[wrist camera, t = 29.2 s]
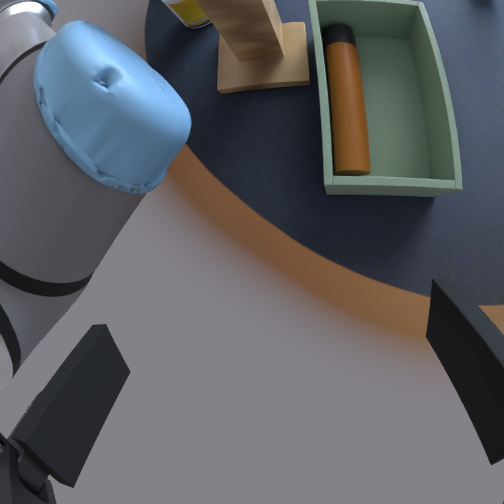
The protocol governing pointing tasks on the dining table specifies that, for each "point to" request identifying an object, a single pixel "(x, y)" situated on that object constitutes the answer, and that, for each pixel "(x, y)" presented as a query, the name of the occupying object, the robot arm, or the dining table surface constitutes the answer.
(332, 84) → the orange brown cylinder
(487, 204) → the dining table surface
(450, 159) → the bin
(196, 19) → the pill bottle
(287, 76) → the stand
